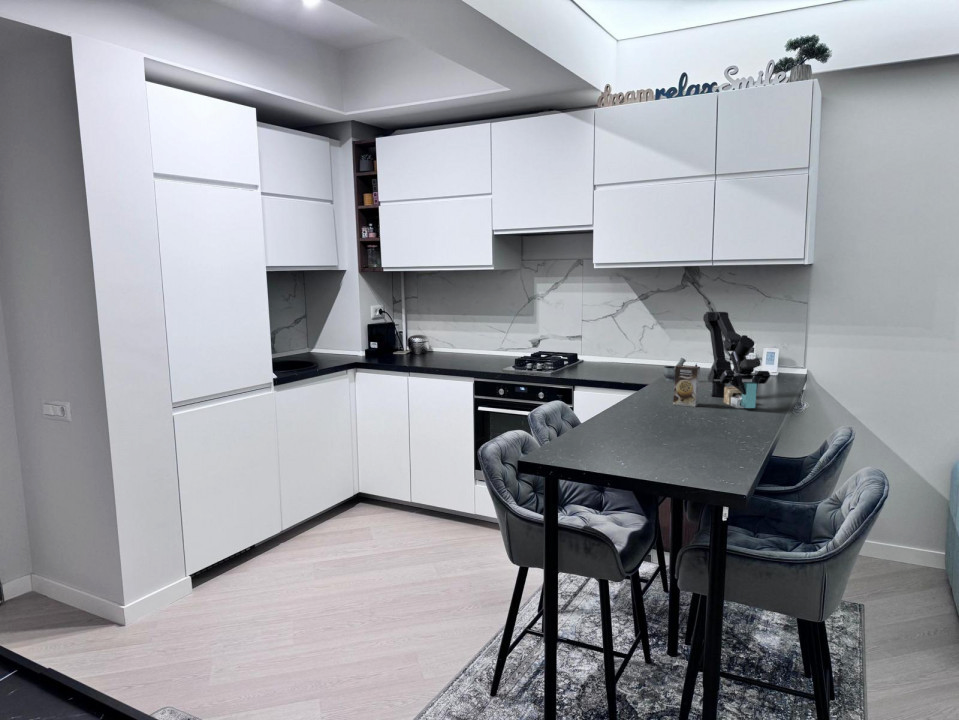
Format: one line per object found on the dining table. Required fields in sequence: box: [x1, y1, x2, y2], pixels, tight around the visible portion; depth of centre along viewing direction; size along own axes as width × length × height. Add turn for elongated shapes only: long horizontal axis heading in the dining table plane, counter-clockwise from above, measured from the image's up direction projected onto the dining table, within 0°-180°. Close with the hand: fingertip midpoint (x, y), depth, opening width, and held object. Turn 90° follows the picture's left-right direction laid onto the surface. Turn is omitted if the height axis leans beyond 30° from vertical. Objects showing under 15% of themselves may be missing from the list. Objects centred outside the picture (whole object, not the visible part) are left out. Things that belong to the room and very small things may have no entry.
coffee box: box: [672, 364, 701, 408], centre depth 275 cm, size 9×6×16 cm
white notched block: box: [730, 397, 745, 409], centre depth 273 cm, size 6×6×3 cm
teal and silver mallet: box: [732, 381, 758, 409], centre depth 271 cm, size 14×4×10 cm, turn 3°
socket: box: [723, 386, 742, 406], centre depth 279 cm, size 5×7×7 cm
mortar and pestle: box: [662, 357, 687, 383], centre depth 334 cm, size 11×9×12 cm
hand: (750, 394), depth 265 cm, fingers closed on teal and silver mallet, 4 cm apart
